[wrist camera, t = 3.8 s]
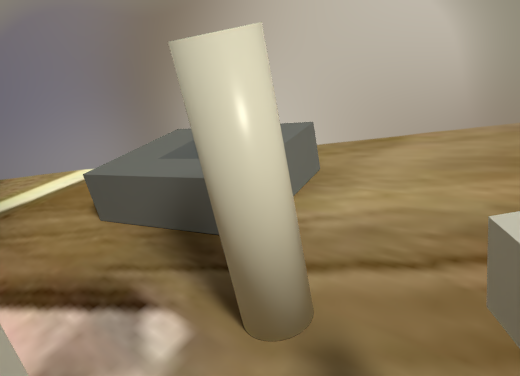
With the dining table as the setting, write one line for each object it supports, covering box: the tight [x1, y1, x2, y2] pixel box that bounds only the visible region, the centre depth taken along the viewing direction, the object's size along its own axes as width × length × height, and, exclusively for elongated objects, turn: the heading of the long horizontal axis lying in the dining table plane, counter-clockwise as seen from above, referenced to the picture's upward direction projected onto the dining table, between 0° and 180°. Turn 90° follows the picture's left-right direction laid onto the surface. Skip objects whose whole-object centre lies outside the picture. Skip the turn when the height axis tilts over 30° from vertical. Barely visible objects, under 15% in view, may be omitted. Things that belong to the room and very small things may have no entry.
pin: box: [168, 22, 314, 341], centre depth 20 cm, size 4×4×15 cm
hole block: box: [83, 122, 320, 235], centre depth 40 cm, size 18×14×5 cm
